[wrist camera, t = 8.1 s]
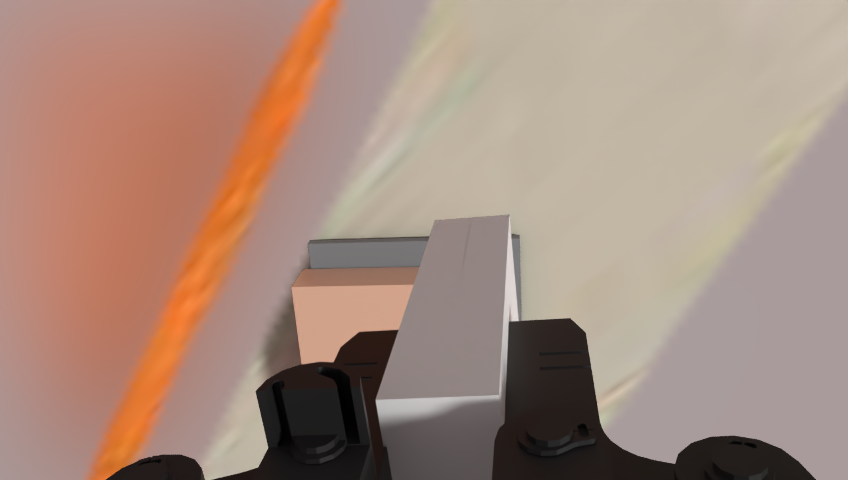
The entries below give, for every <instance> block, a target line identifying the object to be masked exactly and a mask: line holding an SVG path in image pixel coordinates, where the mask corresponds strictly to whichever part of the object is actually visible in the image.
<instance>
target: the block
mask: <svg viewBox="0 0 848 480" xmlns="http://www.w3.org/2000/svg"><path fill="white" fill-rule="evenodd" d="M418 270H419V267H378V268H332V269H303V270H302V272H301V273H300V275H299V276H298V278H297V279H296V281H295V282H294V284H293V285H292V287H291V288H292V296H293V303H294V311H295V318H296V326H297V333H298V341H299V349H300V356H301V364H308V363H315V362H334V360H335V358H336V356H337V354H338V352H339V349H340V347H341V346H343V345H344V344H345V343H346V342H347V341H349V340H350V339H351V338H352V337H353V336H355V335H356V334H357V333H358V332H364V331H383V330H399V327H400V324H401V321H402V318H403V315H404V312H405V309H406V306H407V303H408V300H409V297H410V294H411V291H412V288H413V285H414V282H415V279H416V276H417V273H418Z"/></svg>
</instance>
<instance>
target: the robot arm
mask: <svg viewBox="0 0 848 480" xmlns="http://www.w3.org/2000/svg"><path fill="white" fill-rule="evenodd" d="M256 395H257V399H258V404H259V408H260V412H261V417H262V421H263V426H264V430H265V434H266V439H267V443H268V447H269V448H268V450H267V452H266V454H265V456H264V458H263V460H262V462H261V463H260V465H259V467H258V468H255V469H252V470H249V471H246V472H242V473H239V474H234V475H230V476H226V477H222V478H218V479H213V480H816V479H815V478H814V477H813V476H812V475H811V474H810V473H809V472H808V471H807V470H806V469H805V468H804V467H803V466H802V465H801V464H800V463H799V462H798V461H797V460H796V459H794V458H793V457H791V456H790V455H789V454H788V453H786V452H785V451H783V450H782V449H780V448H778V447H775V446H773V445H770V444H768V443H765V442H763V441H760V440H757V439H751V438H745V437H739V436H720V437H709V438H706V439H703V440H700V441H697V442H694V443H691V444H690V445H689V446H687V447H686V448H685V449H684V450H683V451H681V452H680V453H679V454H678V457H677V460H676V463H675V464H672V463H666V462H661V461H656V460H651V459H648V458H644V457H640V456H637V455H635V454H632V453H630V452H628V451H626V450H623V449H622V448H620V447H619V446H617V445H616V444H615V443H613V442H612V441H611V440H610V439H609V438H608V437H607V435H606V434H605V433H604V431H603V429H602V427H601V424H600V420H599V413H598V407H597V401H596V395H595V388H594V382H593V376H592V370H591V363H590V357H589V352H588V345H587V338H586V333H585V332H584V331H583V330H582V329H581V328H580V327H579V326H578V325H577V324H576V323H575V322H574V321H572V320H571V319H570V318H567V319H548V320H530V321H519V319H518V308H517V296H516V285H515V274H514V262H513V251H512V239H511V228H510V217H509V215H499V216H486V217H473V218H459V219H446V220H435V222H434V225H433V228H432V231H431V234H430V237H429V240H428V243H427V246H426V249H425V252H424V255H423V258H422V261H421V264H420V267H419V270H418V273H417V276H416V279H415V282H414V285H413V288H412V291H411V294H410V297H409V300H408V303H407V306H406V309H405V312H404V315H403V318H402V321H401V324H400V327H399V330H383V331H364V332H358V333H357V334H356V335H355V336H353V337H352V338H351V339H350V340H349V341H347V342H346V343H345V344H344V345H343V346H341V347H340V349H339V352H338V354H337V356H336V358H335V360H334V362H315V363H308V364H301V365H298V366H295V367H292V368H289V369H286V370H283V371H281V372H279V373H278V374H276V375H274V376H272V377H271V378H269V379H267V380H266V381H265V382H264V383H263V384H262V385H261V386H260V387H259V388H258V389H257V390H256ZM106 480H205V479H204V475H203V471H202V468H201V467H200V466H199V464H198V463H197V462H196V460H194V459H192V458H189V457H186V456H183V455H159V456H153V457H151V458H150V457H148V458H145V459H141V460H139V461H137V462H135V463H133V464H131V465H128V466H126V467H124V468H122V469H120V470H119V471H117V472H116V473H115V474H113V475H112V476H110V477H109V478H107V479H106Z"/></svg>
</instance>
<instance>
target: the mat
mask: <svg viewBox="0 0 848 480" xmlns="http://www.w3.org/2000/svg"><path fill="white" fill-rule="evenodd" d="M511 239H512V251H513V262H514V274H515V285H516V296H517V308H518V319H519V321H521V279H520V237H519V235H511ZM428 240H429V237H419V238H381V239H343V240H310V241H309V243H308V251H309V259H310V267H311V269H332V268H378V267H420V264H421V261H422V258H423V255H424V252H425V249H426V246H427V243H428Z"/></svg>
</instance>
